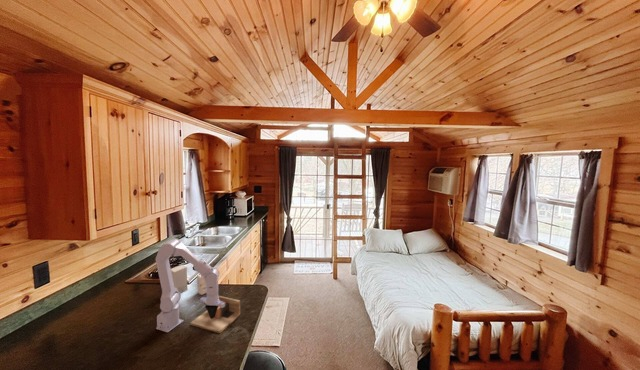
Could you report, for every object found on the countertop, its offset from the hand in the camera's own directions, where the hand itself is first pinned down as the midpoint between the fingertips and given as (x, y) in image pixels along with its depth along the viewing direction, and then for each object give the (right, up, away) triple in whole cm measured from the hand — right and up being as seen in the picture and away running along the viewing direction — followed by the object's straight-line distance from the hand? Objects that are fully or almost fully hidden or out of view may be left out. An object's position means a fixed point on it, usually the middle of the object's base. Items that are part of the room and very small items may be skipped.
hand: (212, 317), depth 130 cm
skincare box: (-35, +1, +29) cm, 45 cm away
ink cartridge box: (-17, +1, +30) cm, 35 cm away
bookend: (+7, -1, +4) cm, 8 cm away
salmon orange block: (+2, -1, +5) cm, 5 cm away
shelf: (+1, -2, +2) cm, 3 cm away
